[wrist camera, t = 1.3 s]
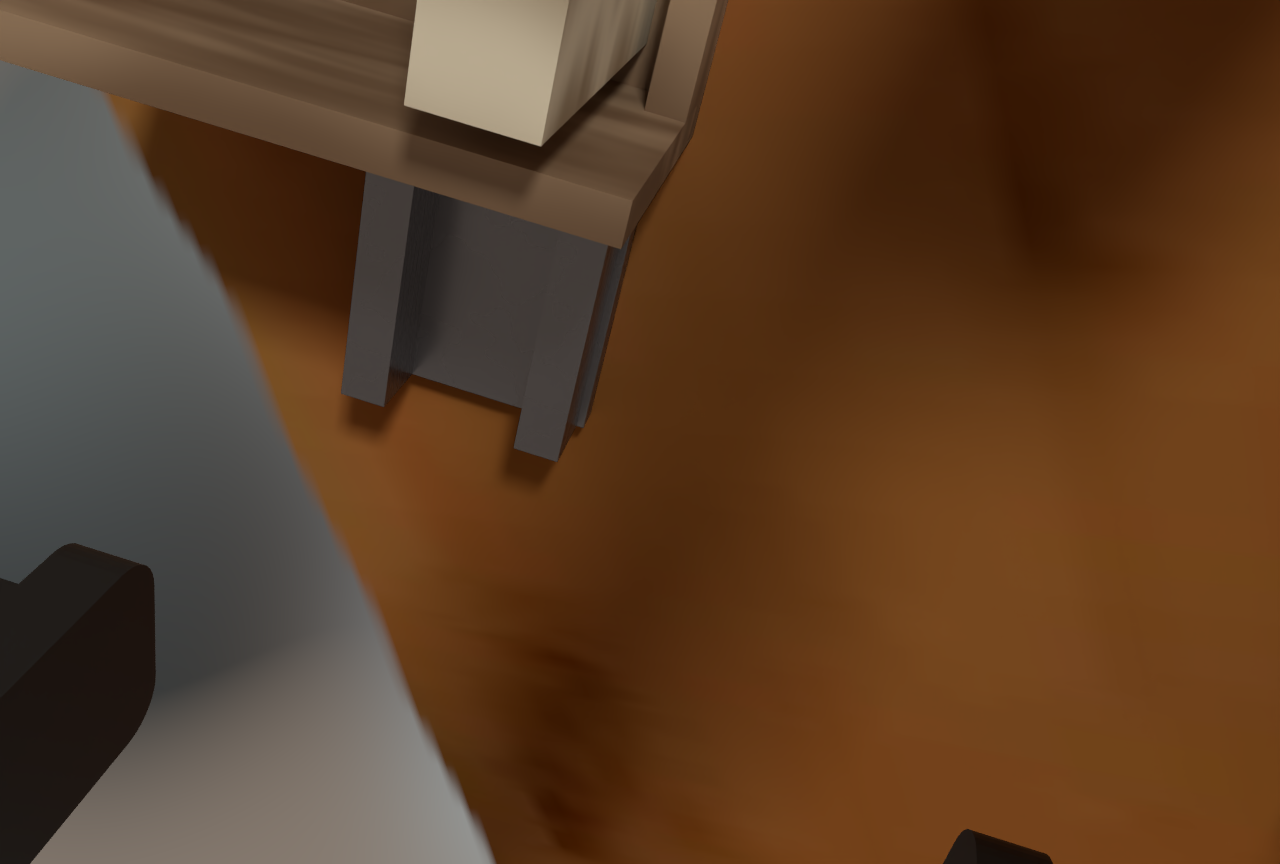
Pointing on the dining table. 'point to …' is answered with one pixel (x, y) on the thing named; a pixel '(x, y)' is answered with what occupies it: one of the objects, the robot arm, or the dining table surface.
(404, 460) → the dining table surface
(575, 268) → the stand
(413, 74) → the beige rectangular slab
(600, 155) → the rack
